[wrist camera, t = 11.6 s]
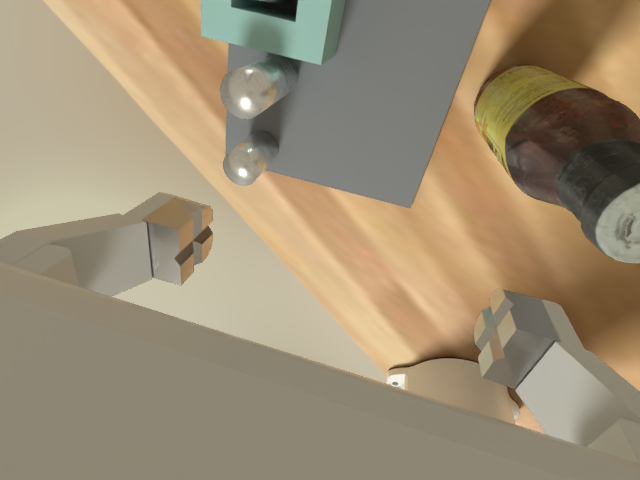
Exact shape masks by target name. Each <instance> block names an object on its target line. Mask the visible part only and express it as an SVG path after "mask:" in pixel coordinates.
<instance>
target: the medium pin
mask: <svg viewBox="0 0 640 480" xmlns="http://www.w3.org/2000/svg"><path fill="white" fill-rule="evenodd" d="M297 82H298V70H297V67H296V65H295V64H294V62H293V61H292V60H291V59H290V58H288V57H285V56H281V55H275V56H272V57H269V58H266V59H264V60H261V61H258V62H255V63H252V64H250V65H247V66H244V67H241V68H238V69H236V70H233V71H231V72H229V73H227V74H226V75H225V77H224V78H223V80H222V83H221V87H220V93H221V98H222V101H223V103H224V105H225V107H226V108H227V109H228V111H229V112H230V113H232V114H233V115H234V116H236V117H238V118H241V119H251V118H254V117H255V116H257V115H258V114H260V113H261V112H263V111H264V110H265V109H267V108H268V107H270V106H271V105H272V104H274V103H275V102H277V101H278V100H279V99H281V98H282V97H284V96H285V95H286V94H288V93H289V92H291V91H292V90H293V89H294V88H295V86H296V85H297Z"/></svg>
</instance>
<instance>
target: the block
mask: <svg viewBox="0 0 640 480" xmlns="http://www.w3.org/2000/svg"><path fill="white" fill-rule="evenodd" d="M345 1H346V0H298V5H297V14H296V15H292V14H288V13H284V12H279V11H275V10H271V9H266V8H262V7H261V1H258V0H201V36H202V37H206V38H211V39H215V40H219V41H223V42H227V43H231V44H235V45H240V46H244V47H248V48H252V49H256V50H260V51H265V52H269V53H273V54H277V55H281V56H285V57H290V58H294V59H298V60H302V61H306V62H310V63H314V64H319V65H322V64H323V63H325V62H326V61H328V60H329V59H331V58H332V57H334V56H335V54H336V49H337V43H338V38H339V33H340V27H341V22H342V17H343V11H344V6H345Z"/></svg>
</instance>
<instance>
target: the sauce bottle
mask: <svg viewBox="0 0 640 480" xmlns="http://www.w3.org/2000/svg"><path fill="white" fill-rule="evenodd" d="M474 113H475V122H476V127H477V129H478V131H479V132H480V134H481V135H482V137H483V138H484V140H485V141H486V143H487V144H488V146H489V147H490V149H491V150H492V151H493V153H494V154H495V156H496V157H497V159H498V160H499V162H500V163H501V164H502V166H503V167H504V169H505V170H506V172H507V173H508V175H509V176H510V177H511V179H512V180H513V181H514V183H515V184H516V185H517V186H518V187H519V188H520V189H521V190H522V191H523V192H524V193H525V194H527V195H528V196H531V197H533V198H535V199H537V200H541V201H544V202H548V203H551V204H555V205H559V206H562V207H565V208H566V209H568V210H569V211H571V212H572V213H573V214H574V215H575V216H576V218H577V219H578V220H579V221H580V222H581V228H582V230H583V232H584V234H585V236H586V237H587V238H588V239H589V240H590V241H591V242H592V243H593V244H594V245H595V246H596V247H597V248H598V249H599V250H600V251H602V252H603V253H604V254H605V255H607V256H609V257H611V258H612V259H614V260H617V261H621V262H625V263H640V119H639V117H638V116H637V115H636V114H635V113H634V112H633V111H632V110H631V109H629V108H628V107H627V106H626V105H624V104H622V103H620V102H619V101H615V100H613V99H611V98H609V97H607V96H606V95H605V94H603V93H601V92H599V91H597V90H595V89H593V88H590V87H588V86H585V85H583V84H581V83H578V82H576V81H573V80H571V79H569V78H566V77H564V76H561V75H559V74H556V73H554V72H551V71H549V70H547V69H544V68H540V67H537V66H532V65H518V66H513V67H511V68H507V69H504V70H502V71H500V72H498V73H496V74H494V75H493V76H492V77H491V78H490V79H489V80H488V81H487V82H486V84H485V85H484V86H483V87H482V88H481V90H480V92H479V94H478V95H477V97H476V100H475V104H474Z"/></svg>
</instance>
